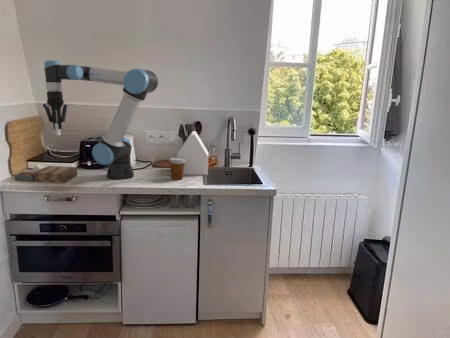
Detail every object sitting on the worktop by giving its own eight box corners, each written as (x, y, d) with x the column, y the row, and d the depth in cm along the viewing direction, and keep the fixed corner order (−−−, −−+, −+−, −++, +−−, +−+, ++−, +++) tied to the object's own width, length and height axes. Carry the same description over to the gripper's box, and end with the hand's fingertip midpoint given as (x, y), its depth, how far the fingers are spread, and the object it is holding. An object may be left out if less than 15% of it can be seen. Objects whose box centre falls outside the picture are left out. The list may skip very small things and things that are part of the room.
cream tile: (44, 167, 196) (40, 163, 196) (40, 169, 191) (35, 165, 191) (39, 173, 197) (35, 169, 197) (34, 175, 192) (30, 171, 192)
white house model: (207, 169, 232) (209, 131, 226) (207, 175, 217) (209, 135, 211) (178, 168, 231) (179, 130, 225) (176, 174, 216) (177, 133, 210)
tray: (49, 174, 203) (48, 169, 202) (33, 181, 187) (33, 176, 186) (31, 173, 203) (31, 168, 202) (15, 180, 187) (14, 175, 187)
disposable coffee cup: (176, 181, 199) (176, 161, 196) (165, 178, 205) (165, 158, 202) (188, 179, 206) (189, 159, 203) (178, 175, 212) (178, 156, 209)
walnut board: (77, 175, 202) (77, 167, 201) (64, 183, 187) (63, 173, 186) (49, 174, 203) (49, 165, 202) (34, 181, 187) (33, 172, 186)
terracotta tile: (26, 169, 197) (27, 174, 197) (21, 171, 192) (22, 177, 192) (35, 170, 197) (36, 175, 197) (30, 172, 192) (31, 177, 192)
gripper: (69, 91, 191) (73, 134, 196) (45, 90, 190) (49, 134, 196) (63, 91, 183) (67, 136, 189) (38, 90, 183) (43, 135, 188)
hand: (58, 135), depth 192 cm, fingers closed
